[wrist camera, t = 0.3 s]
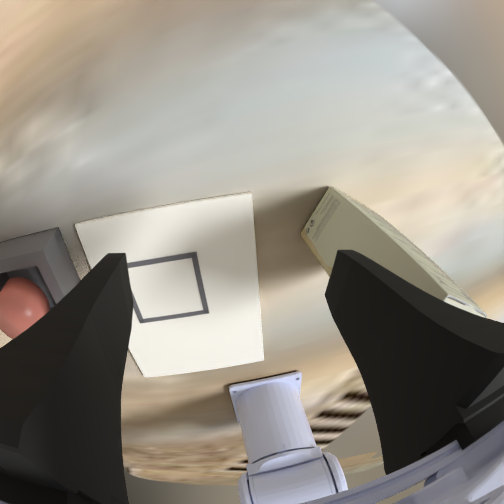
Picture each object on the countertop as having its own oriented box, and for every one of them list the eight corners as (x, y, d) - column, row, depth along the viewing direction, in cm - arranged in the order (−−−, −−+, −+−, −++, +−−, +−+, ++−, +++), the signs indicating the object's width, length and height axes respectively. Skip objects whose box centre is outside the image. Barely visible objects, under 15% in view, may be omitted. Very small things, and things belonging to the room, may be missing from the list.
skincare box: (297, 234, 22) (379, 369, 12) (330, 181, 20) (448, 292, 10) (357, 260, 24) (439, 373, 14) (387, 216, 22) (490, 316, 12)
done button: (58, 318, 18) (49, 342, 16) (20, 321, 18) (10, 344, 16) (34, 273, 16) (21, 296, 14) (-4, 280, 15) (-18, 302, 13)
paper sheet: (263, 357, 29) (264, 360, 28) (145, 375, 27) (144, 378, 27) (250, 191, 19) (252, 193, 19) (76, 223, 18) (74, 225, 18)
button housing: (91, 304, 22) (83, 330, 19) (27, 312, 21) (17, 336, 18) (58, 227, 18) (42, 250, 15) (-8, 244, 17) (-25, 266, 14)
